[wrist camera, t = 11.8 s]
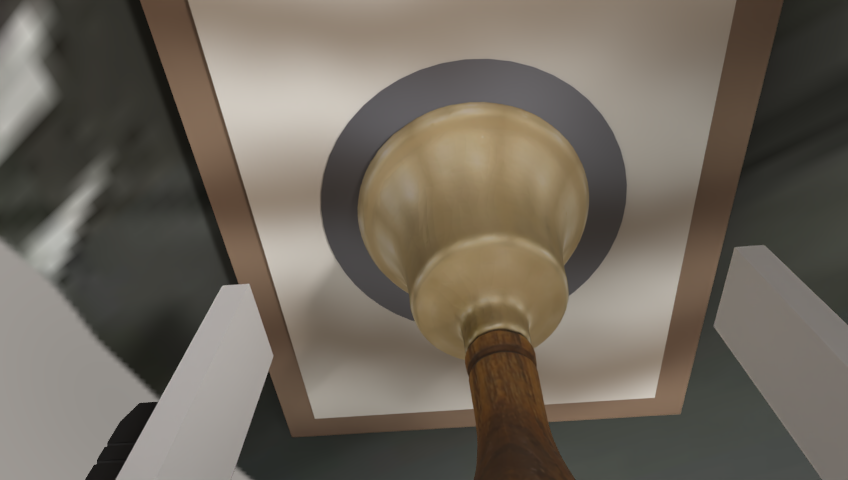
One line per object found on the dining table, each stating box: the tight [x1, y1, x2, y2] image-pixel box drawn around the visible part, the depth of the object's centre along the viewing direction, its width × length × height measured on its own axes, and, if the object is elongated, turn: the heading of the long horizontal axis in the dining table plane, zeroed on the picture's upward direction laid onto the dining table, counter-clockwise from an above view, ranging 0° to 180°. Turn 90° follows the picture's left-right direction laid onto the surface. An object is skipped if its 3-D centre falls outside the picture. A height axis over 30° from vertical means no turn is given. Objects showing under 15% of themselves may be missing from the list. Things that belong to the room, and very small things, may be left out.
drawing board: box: [140, 0, 784, 437], centre depth 19 cm, size 24×19×1 cm
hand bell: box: [358, 102, 589, 480], centre depth 12 cm, size 8×8×16 cm
